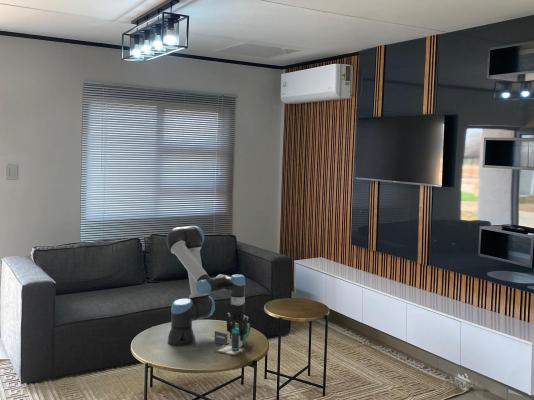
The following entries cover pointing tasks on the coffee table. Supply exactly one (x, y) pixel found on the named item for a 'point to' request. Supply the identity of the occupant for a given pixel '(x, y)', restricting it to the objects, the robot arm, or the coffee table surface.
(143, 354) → the coffee table surface
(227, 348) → the clipboard
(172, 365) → the coffee table surface
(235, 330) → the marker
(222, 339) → the gray bookend
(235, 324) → the mug
